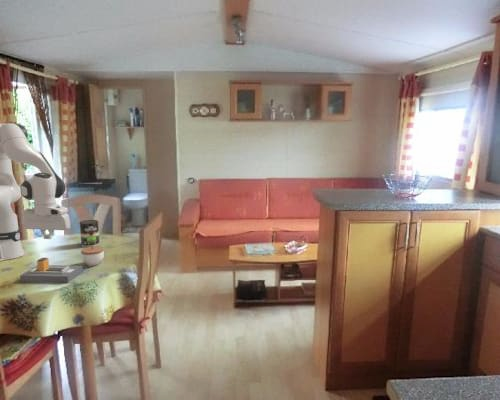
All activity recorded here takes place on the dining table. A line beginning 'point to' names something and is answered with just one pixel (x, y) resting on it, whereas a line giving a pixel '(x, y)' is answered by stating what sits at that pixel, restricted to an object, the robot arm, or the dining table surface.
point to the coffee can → (89, 233)
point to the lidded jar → (92, 255)
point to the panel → (52, 274)
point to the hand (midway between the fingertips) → (47, 238)
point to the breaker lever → (43, 264)
